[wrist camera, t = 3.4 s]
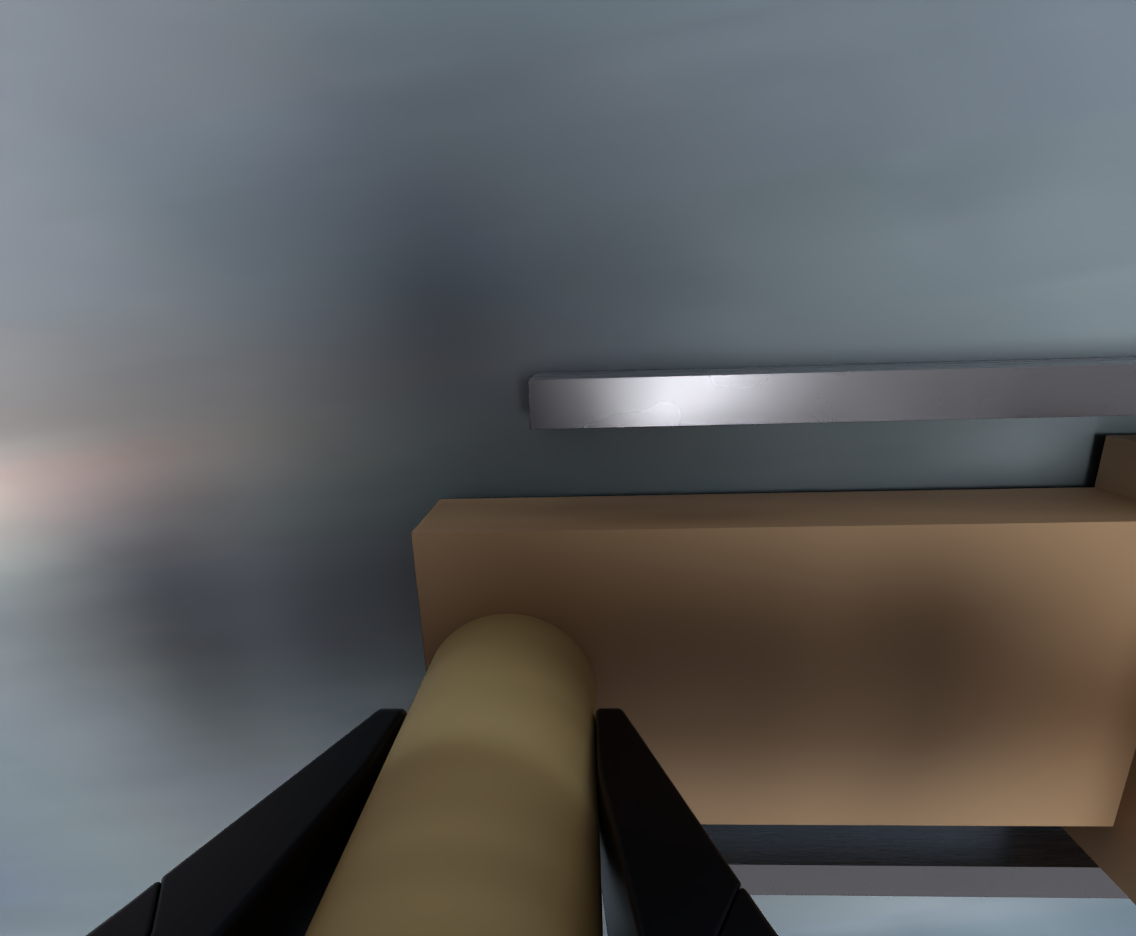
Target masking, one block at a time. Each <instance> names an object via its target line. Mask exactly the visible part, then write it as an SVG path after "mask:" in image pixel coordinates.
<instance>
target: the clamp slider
mask: <svg viewBox="0 0 1136 936" xmlns="http://www.w3.org/2000/svg"><path fill="white" fill-rule="evenodd" d="M411 537H412V546H413V555H414V564H415V573H416V582H417V591H418V600H419V609H420V618H421V627H422V636H423V645H424V654H425V664H426V674H425V677H424V679H423V681H422V683H421V685H420V687H419V690H418V692H417V694H416V696H415V698H414V700H413V703H412V705H411V707H410V709H409V711H408V713H407V715H406V718H405V720H404V722H403V724H402V726H401V728H400V731H399V733H398V735H397V737H396V739H395V741H394V744H393V746H392V748H391V750H390V752H389V754H388V757H387V759H386V761H385V763H384V765H383V767H382V770H381V772H380V774H379V776H378V778H377V780H376V782H375V785H374V787H373V789H372V791H371V793H370V795H369V798H368V800H367V802H366V804H365V806H364V808H363V811H362V813H361V815H360V817H359V819H358V821H357V824H356V826H355V828H354V830H353V832H352V834H351V837H350V839H349V841H348V843H347V845H346V847H345V849H344V852H343V854H342V856H341V858H340V860H339V862H338V865H337V867H336V869H335V871H334V873H333V875H332V878H331V880H330V882H329V884H328V886H327V888H326V891H325V893H324V895H323V897H322V899H321V901H320V903H319V906H318V908H317V910H316V912H315V914H314V916H313V919H312V921H311V923H310V925H309V927H308V929H307V932H306V934H305V936H603V927H602V892H601V857H600V822H599V803H598V780H597V742H596V711H597V710H598V709H599V708H620V709H622V710H623V711H624V713H625V714H626V715H627V717H628V718H629V720H630V721H631V723H632V724H633V726H634V727H635V729H636V730H637V732H638V733H639V734H640V736H641V737H642V739H643V740H644V742H645V743H646V745H647V746H648V748H649V749H650V751H651V752H652V753H653V755H654V756H655V758H656V759H657V761H658V762H659V764H660V765H661V767H662V768H663V770H664V771H665V772H666V774H667V775H668V777H669V778H670V780H671V781H672V783H673V784H674V786H675V787H676V789H677V790H678V791H679V793H680V794H681V796H682V797H683V799H684V800H685V802H686V803H687V805H688V806H689V808H690V809H691V810H692V812H693V813H694V815H695V816H696V818H697V819H698V821H699V822H700V824H730V825H924V826H1061V827H1062V828H1063V829H1064V830H1065V831H1066V832H1067V833H1068V835H1069V836H1070V837H1071V838H1072V839H1073V840H1074V841H1075V842H1076V843H1077V844H1078V845H1079V846H1080V847H1081V848H1082V849H1083V850H1084V851H1085V852H1086V853H1087V854H1088V855H1089V857H1090V858H1091V859H1092V860H1093V861H1094V862H1095V863H1096V864H1097V865H1098V866H1099V867H1100V868H1101V869H1102V870H1103V871H1104V872H1105V873H1106V874H1107V875H1108V876H1109V877H1110V879H1111V880H1112V881H1113V882H1114V883H1115V884H1116V885H1117V886H1118V887H1119V888H1120V889H1121V890H1122V891H1123V892H1124V893H1125V894H1126V895H1127V896H1128V897H1129V898H1130V899H1131V900H1132V902H1133V903H1134V904H1135V905H1136V435H1106V439H1105V443H1104V448H1103V452H1102V457H1101V461H1100V465H1099V470H1098V474H1097V478H1096V483H1095V487H1080V488H1025V489H971V490H916V491H861V492H806V493H751V494H696V495H642V496H587V497H532V498H477V499H440V500H439V501H438V502H437V503H436V504H435V505H434V507H433V508H432V509H431V510H430V511H429V512H428V514H427V515H426V516H425V517H424V518H423V520H422V521H421V522H420V523H419V524H418V525H417V527H416V528H415V529H414V530H413V531H412V532H411Z"/></svg>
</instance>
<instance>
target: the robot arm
mask: <svg viewBox="0 0 1136 936" xmlns="http://www.w3.org/2000/svg"><path fill="white" fill-rule="evenodd" d="M406 715H407V713H406V711H405V710H404V709H380V710H378V711H377V712H375V713H374V714H373V715H371V716H370V717H369V718H367V719H366V720H365V721H364V722H362V723H361V724H360V725H358V726H357V727H356V728H355V729H353V730H352V731H351V732H349V733H348V734H347V735H346V736H344V737H343V738H342V739H340V740H339V741H338V742H337V743H335V744H334V745H333V746H331V747H330V748H329V749H327V750H326V751H325V752H324V753H322V754H321V755H320V756H318V757H317V758H316V759H315V760H313V761H312V762H311V763H309V764H308V765H307V766H306V767H304V768H303V769H302V770H300V771H299V772H298V773H297V774H295V775H294V776H293V777H291V778H290V779H289V780H287V781H286V782H285V783H284V784H282V785H281V786H280V787H278V788H277V789H276V790H275V791H273V792H272V793H271V794H269V795H268V796H267V797H266V798H264V799H263V800H262V801H260V802H259V803H258V804H257V805H255V806H254V807H253V808H251V809H250V810H249V811H248V812H246V813H245V814H244V815H242V816H241V817H240V818H238V819H237V820H236V821H235V822H233V823H232V824H231V825H229V826H228V827H227V828H226V829H224V830H223V831H222V832H220V833H219V834H218V835H217V836H215V837H214V838H213V839H211V840H210V841H209V842H208V843H206V844H205V845H204V846H202V847H201V848H200V849H198V850H197V851H196V852H195V853H193V854H192V855H191V856H189V857H188V858H187V859H186V860H184V861H183V862H182V863H180V864H179V865H178V866H177V867H175V868H174V869H173V870H171V871H170V872H169V873H168V874H166V875H165V876H164V877H163V878H162V881H161V883H160V882H156V883H154V884H153V885H152V886H150V887H149V888H148V889H147V890H145V891H144V892H143V893H141V894H140V895H139V896H138V897H136V898H135V899H134V900H132V901H131V902H130V903H129V904H127V905H126V906H125V907H123V908H122V909H121V910H119V911H118V912H117V913H115V914H114V915H113V916H111V917H110V918H109V919H107V920H106V921H105V922H103V923H102V924H101V925H99V926H98V927H97V928H95V929H94V930H93V931H91V932H90V933H89V934H87V935H86V936H305V934H306V932H307V929H308V927H309V925H310V923H311V921H312V919H313V916H314V914H315V912H316V910H317V908H318V906H319V903H320V901H321V899H322V897H323V895H324V893H325V891H326V888H327V886H328V884H329V882H330V880H331V878H332V875H333V873H334V871H335V869H336V867H337V865H338V862H339V860H340V858H341V856H342V854H343V852H344V849H345V847H346V845H347V843H348V841H349V839H350V837H351V834H352V832H353V830H354V828H355V826H356V824H357V821H358V819H359V817H360V815H361V813H362V811H363V808H364V806H365V804H366V802H367V800H368V798H369V795H370V793H371V791H372V789H373V787H374V785H375V782H376V780H377V778H378V776H379V774H380V772H381V770H382V767H383V765H384V763H385V761H386V759H387V757H388V754H389V752H390V750H391V748H392V746H393V744H394V741H395V739H396V737H397V735H398V733H399V731H400V728H401V726H402V724H403V722H404V720H405V718H406ZM596 742H597V780H598V803H599V822H600V857H601V888H602V896H603V904H604V911H605V919H606V926H607V934H608V936H778V935H777V934H776V932H775V931H774V929H773V928H772V927H771V925H770V924H769V922H768V921H767V920H766V918H765V917H764V915H763V914H762V913H761V911H760V910H759V908H758V907H757V905H756V904H755V902H754V901H753V899H752V898H751V896H750V895H749V893H748V892H747V890H746V889H744V888H741V887H742V885H741V882H740V881H739V879H738V878H737V876H736V875H735V873H734V872H733V870H732V869H731V868H730V866H729V865H728V863H727V862H726V860H725V859H724V857H723V856H722V854H721V853H720V851H719V850H718V848H717V847H716V846H715V844H714V843H713V841H712V840H711V838H710V837H709V835H708V834H707V832H706V831H705V829H704V828H703V827H702V825H701V824H700V822H699V821H698V819H697V818H696V816H695V815H694V813H693V812H692V810H691V809H690V808H689V806H688V805H687V803H686V802H685V800H684V799H683V797H682V796H681V794H680V793H679V791H678V790H677V789H676V787H675V786H674V784H673V783H672V781H671V780H670V778H669V777H668V775H667V774H666V772H665V771H664V770H663V768H662V767H661V765H660V764H659V762H658V761H657V759H656V758H655V756H654V755H653V753H652V752H651V751H650V749H649V748H648V746H647V745H646V743H645V742H644V740H643V739H642V737H641V736H640V734H639V733H638V732H637V730H636V729H635V727H634V726H633V724H632V723H631V721H630V720H629V718H628V717H627V715H626V714H625V713H624V711H623V710H622V709H620V708H599V709H598V710H597V711H596Z"/></svg>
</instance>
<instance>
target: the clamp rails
mask: <svg viewBox="0 0 1136 936" xmlns="http://www.w3.org/2000/svg"><path fill="white" fill-rule="evenodd" d="M528 389H529V410H530V429H558V428H602V427H645V426H688V425H731V424H775V423H818V422H861V421H904V420H947V419H991V418H1034V417H1077V416H1120V415H1136V357H1103V358H1066V359H1030V360H993V361H956V362H919V363H882V364H846V365H809V366H772V367H735V368H698V369H662V370H625V371H588V372H551V373H536V374H535V375H533V376H532V377H531V378H530V379H529V380H528ZM701 825H702V827H703V828H704V829H705V831H706V832H707V834H708V835H709V837H710V838H711V840H712V841H713V843H714V844H715V846H716V847H717V848H718V850H719V851H720V853H721V854H722V856H723V857H724V859H725V860H726V862H727V863H728V865H729V866H730V868H731V869H732V870H733V872H734V873H735V875H736V876H737V878H738V879H739V881H740V882H741V885H742V887H741V888H744V889H746V890H747V892H748V893H749V895H845V896H944V897H1043V898H1129V897H1128V896H1127V895H1126V894H1125V893H1124V892H1123V891H1122V890H1121V889H1120V888H1119V887H1118V886H1117V885H1116V884H1115V883H1114V882H1113V881H1112V880H1111V879H1110V877H1109V876H1108V875H1107V874H1106V873H1105V872H1104V871H1103V870H1102V869H1101V868H1100V867H1099V866H1098V865H1097V864H1096V863H1095V862H1094V861H1093V860H1092V859H1091V858H1090V857H1089V855H1088V854H1087V853H1086V852H1085V851H1084V850H1083V849H1082V848H1081V847H1080V846H1079V845H1078V844H1077V843H1076V842H1075V841H1074V840H1073V839H1072V838H1071V837H1070V836H1069V835H1068V833H1067V832H1066V831H1065V830H1064V829H1063V828H1062V827H1061V826H924V825H730V824H701ZM601 892H602V888H601Z"/></svg>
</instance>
